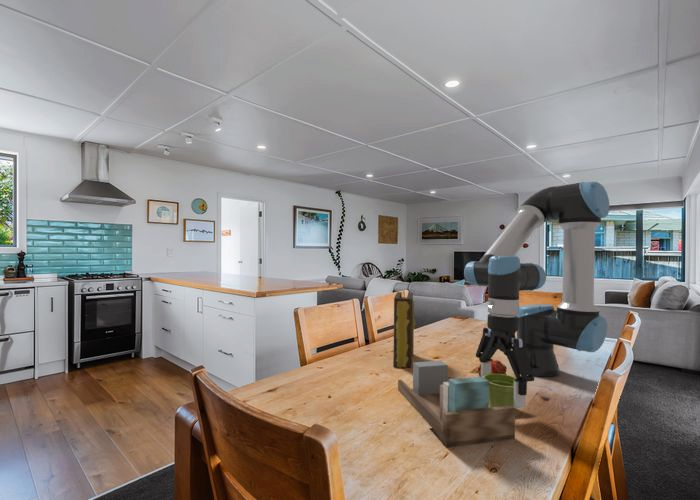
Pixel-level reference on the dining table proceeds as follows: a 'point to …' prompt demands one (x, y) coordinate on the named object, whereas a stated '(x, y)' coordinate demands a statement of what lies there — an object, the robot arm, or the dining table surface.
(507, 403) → the plant pot
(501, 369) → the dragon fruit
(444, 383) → the book rack
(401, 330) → the book
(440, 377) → the bookend
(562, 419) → the dining table surface
